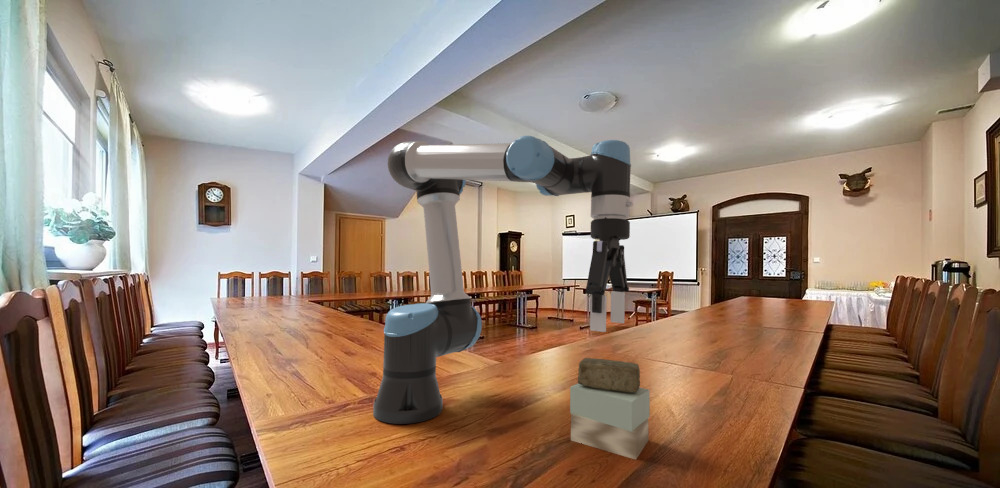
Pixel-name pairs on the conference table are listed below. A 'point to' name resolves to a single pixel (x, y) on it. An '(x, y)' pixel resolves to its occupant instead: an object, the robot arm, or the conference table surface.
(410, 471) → the conference table surface
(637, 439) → the tower base
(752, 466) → the conference table surface
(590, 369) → the stone block
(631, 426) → the tower top
